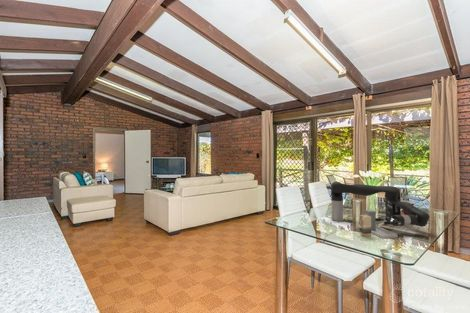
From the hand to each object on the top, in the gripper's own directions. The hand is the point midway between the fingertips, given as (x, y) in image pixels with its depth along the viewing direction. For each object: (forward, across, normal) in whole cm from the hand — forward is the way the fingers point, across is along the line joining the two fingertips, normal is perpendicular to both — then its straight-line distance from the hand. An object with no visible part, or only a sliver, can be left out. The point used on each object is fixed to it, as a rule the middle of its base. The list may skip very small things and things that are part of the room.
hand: (379, 221), depth 173 cm
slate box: (-2, -13, +10) cm, 16 cm away
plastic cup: (-66, -50, +11) cm, 84 cm away
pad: (+11, 0, +10) cm, 15 cm away
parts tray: (-2, -6, +10) cm, 13 cm away
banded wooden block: (+11, 0, +10) cm, 14 cm away
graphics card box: (-44, -42, +11) cm, 62 cm away
